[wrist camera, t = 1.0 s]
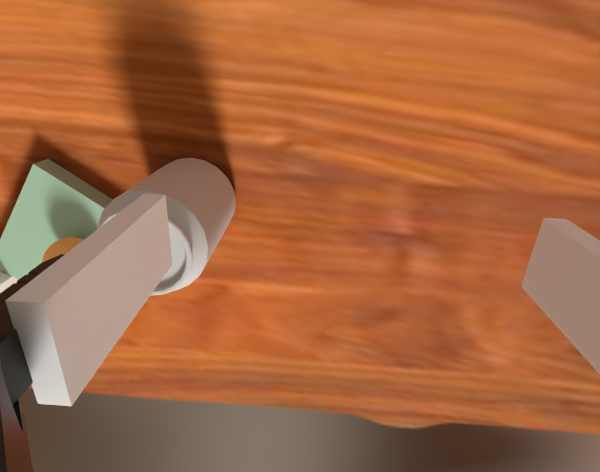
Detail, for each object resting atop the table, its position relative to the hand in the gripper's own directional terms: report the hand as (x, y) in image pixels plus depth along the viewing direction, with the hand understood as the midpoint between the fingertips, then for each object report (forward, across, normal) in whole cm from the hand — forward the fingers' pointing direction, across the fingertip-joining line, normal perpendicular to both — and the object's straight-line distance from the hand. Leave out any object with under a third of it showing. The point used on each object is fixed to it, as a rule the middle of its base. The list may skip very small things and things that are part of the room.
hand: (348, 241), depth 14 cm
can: (+21, -12, -6) cm, 25 cm away
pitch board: (+21, -23, -12) cm, 33 cm away
